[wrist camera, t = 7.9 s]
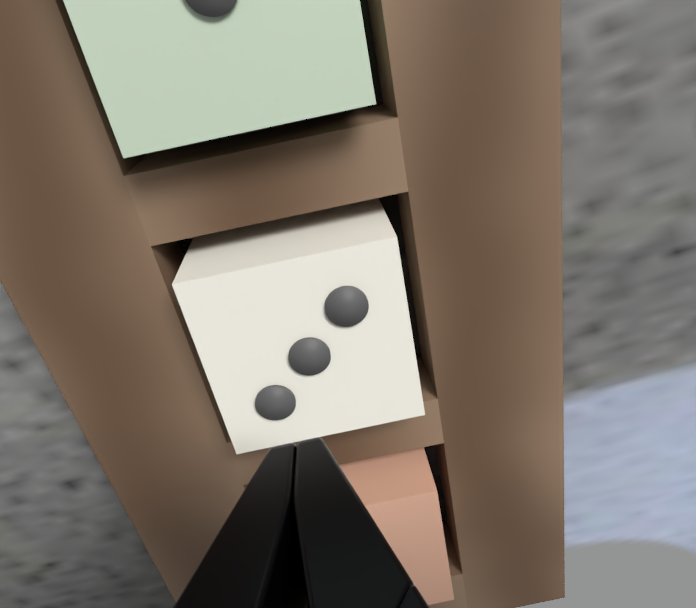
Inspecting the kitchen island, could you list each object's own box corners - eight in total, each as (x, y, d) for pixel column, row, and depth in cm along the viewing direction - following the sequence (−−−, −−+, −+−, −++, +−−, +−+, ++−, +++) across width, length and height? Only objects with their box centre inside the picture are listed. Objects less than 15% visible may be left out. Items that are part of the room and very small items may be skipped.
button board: (504, -435, 9) (557, -549, 7) (540, 546, 20) (564, 597, 18) (-216, -274, 9) (-341, -347, 7) (219, 612, 20) (212, 670, 18)
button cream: (376, 193, 13) (397, 238, 11) (402, 347, 15) (426, 417, 13) (195, 232, 13) (170, 286, 11) (246, 379, 15) (235, 457, 13)
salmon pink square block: (414, 415, 17) (437, 493, 14) (431, 517, 19) (455, 603, 16) (268, 445, 17) (264, 529, 14) (302, 544, 19) (303, 634, 16)
